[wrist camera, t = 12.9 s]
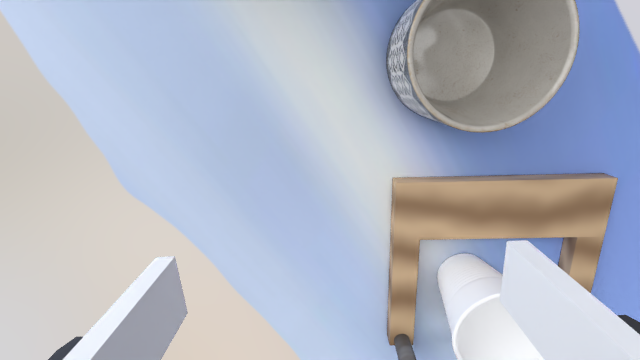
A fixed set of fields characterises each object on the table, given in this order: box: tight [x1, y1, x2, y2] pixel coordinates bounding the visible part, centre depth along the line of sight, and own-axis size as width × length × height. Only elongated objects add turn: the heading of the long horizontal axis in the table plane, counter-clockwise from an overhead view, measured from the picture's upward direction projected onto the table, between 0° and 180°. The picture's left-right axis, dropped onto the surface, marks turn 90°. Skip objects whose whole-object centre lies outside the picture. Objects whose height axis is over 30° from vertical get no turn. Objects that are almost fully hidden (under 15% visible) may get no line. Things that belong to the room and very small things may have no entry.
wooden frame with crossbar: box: [387, 173, 618, 360], centre depth 38 cm, size 22×24×8 cm
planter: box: [386, 0, 579, 132], centre depth 30 cm, size 13×13×10 cm
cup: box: [437, 253, 544, 360], centre depth 37 cm, size 10×10×11 cm
